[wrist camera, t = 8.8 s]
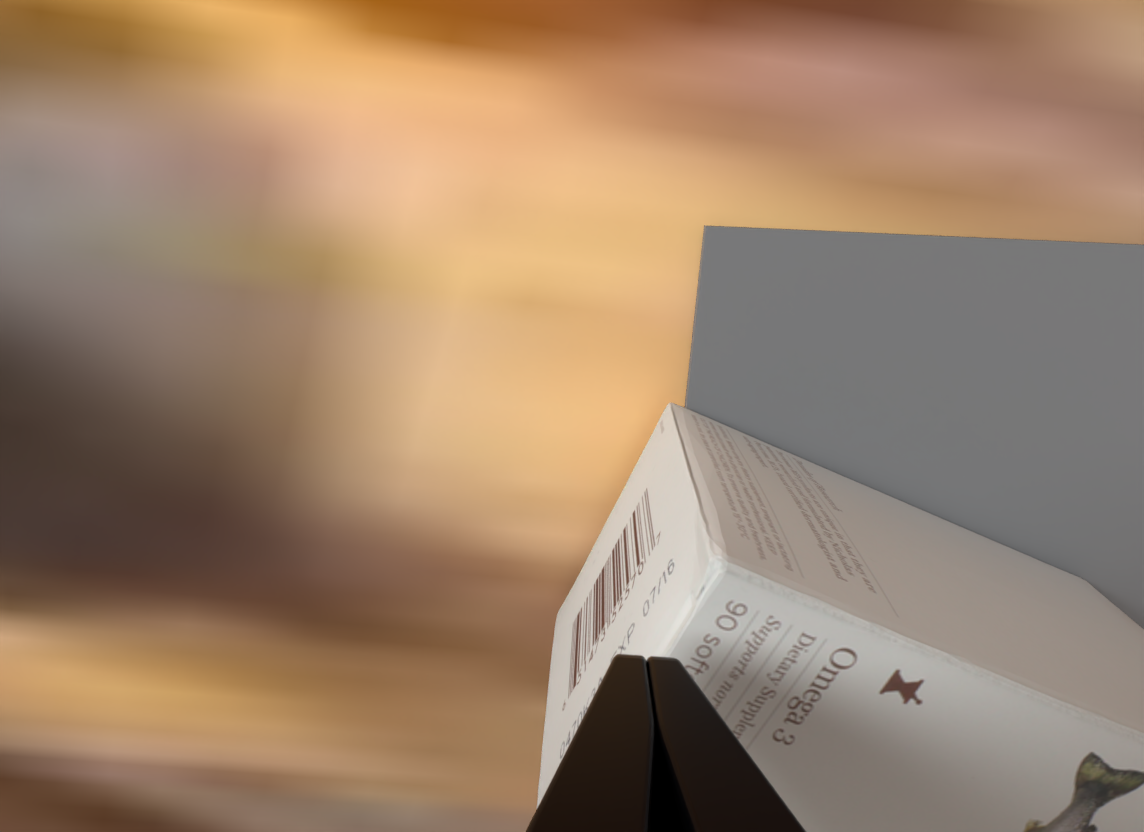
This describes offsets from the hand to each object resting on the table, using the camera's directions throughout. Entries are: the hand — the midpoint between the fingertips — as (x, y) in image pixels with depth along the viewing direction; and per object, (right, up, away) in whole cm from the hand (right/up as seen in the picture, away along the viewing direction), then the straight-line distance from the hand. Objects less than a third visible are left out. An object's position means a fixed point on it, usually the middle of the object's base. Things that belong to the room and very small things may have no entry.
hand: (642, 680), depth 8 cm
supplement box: (0, 0, +5) cm, 5 cm away
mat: (+9, +2, +8) cm, 12 cm away
